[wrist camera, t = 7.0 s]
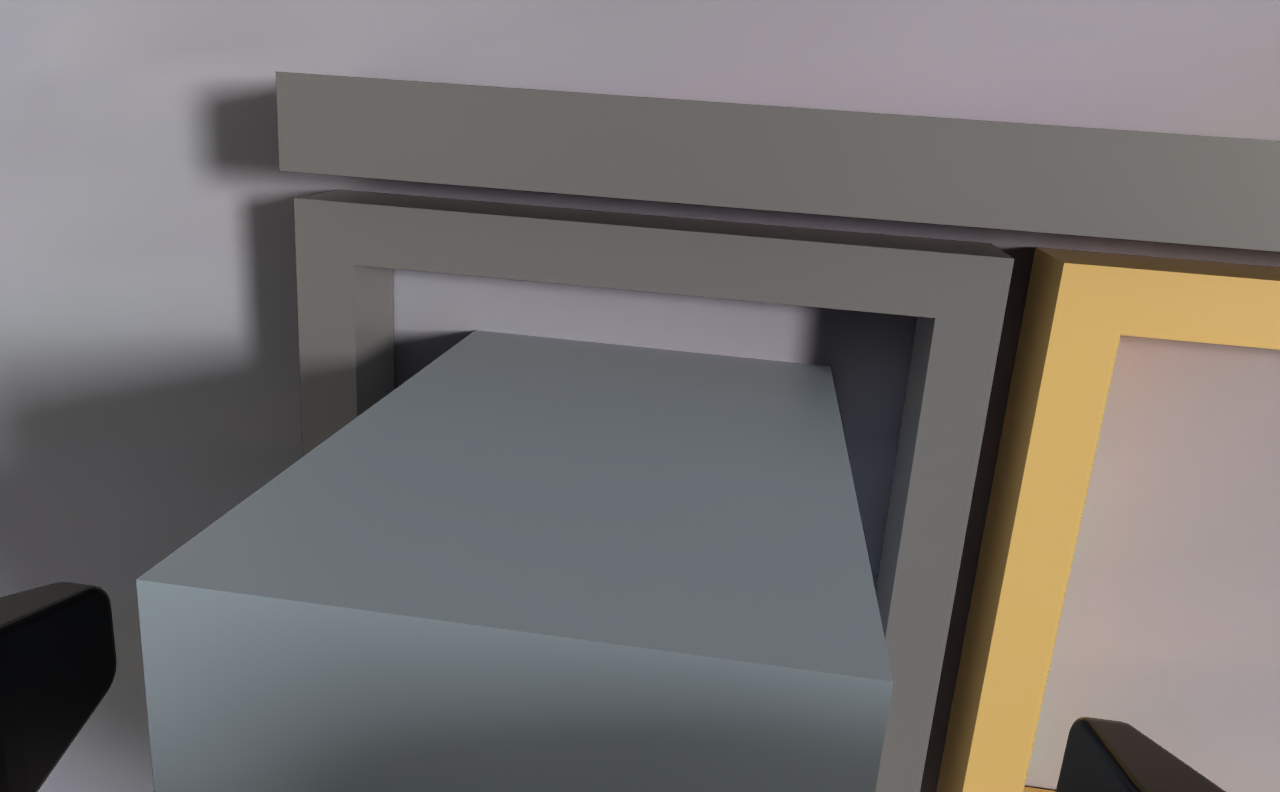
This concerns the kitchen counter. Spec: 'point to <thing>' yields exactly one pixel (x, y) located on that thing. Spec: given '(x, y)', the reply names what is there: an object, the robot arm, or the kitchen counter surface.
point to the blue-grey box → (535, 590)
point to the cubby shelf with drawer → (826, 278)
